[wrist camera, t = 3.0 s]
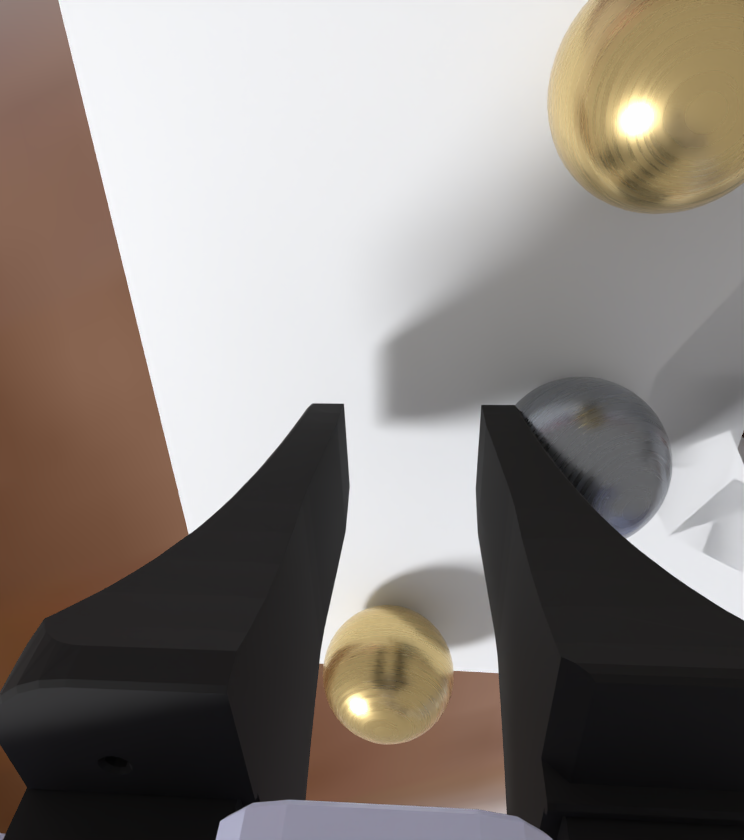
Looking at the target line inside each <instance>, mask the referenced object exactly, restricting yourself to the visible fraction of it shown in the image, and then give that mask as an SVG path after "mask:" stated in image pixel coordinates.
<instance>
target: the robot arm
mask: <svg viewBox="0 0 744 840" xmlns="http://www.w3.org/2000/svg"><path fill="white" fill-rule="evenodd" d="M349 489H350V482H349V468H348V454H347V439H346V425H345V411H344V404H333V403H312V404H311V405H310V406H309V407H308V408H307V409H306V410H305V412H304V413H303V415H302V416H301V417H300V419H299V420H298V421H297V423H296V424H295V426H294V427H293V428H292V430H291V431H290V432H289V433H288V435H287V436H286V437H285V439H284V440H283V441H282V442H281V444H280V445H279V446H278V447H277V448H276V450H275V451H274V452H273V453H272V454H271V456H270V457H269V458H268V459H267V460H266V462H265V463H264V464H263V465H262V466H261V467H260V468H259V470H258V471H257V472H256V473H255V474H254V475H253V476H252V477H251V478H250V479H249V480H248V481H247V482H246V483H245V484H244V485H243V486H242V487H241V489H240V490H239V491H238V492H237V493H236V494H235V495H234V496H233V497H232V498H231V499H230V500H229V501H228V502H226V503H225V504H224V505H223V506H222V507H221V508H220V509H219V510H218V511H217V512H216V513H215V514H213V515H212V516H211V517H210V518H209V519H208V520H206V521H205V522H204V523H203V524H202V525H201V526H199V527H198V528H197V529H196V530H194V531H193V532H192V533H190V534H189V535H188V536H186V537H185V538H183V539H182V540H181V541H179V542H178V543H176V544H175V545H174V546H172V547H171V548H170V549H168V550H167V551H165V552H164V553H163V554H161V555H160V556H158V557H157V558H155V559H154V560H152V561H151V562H149V563H148V564H146V565H144V566H143V567H141V568H140V569H138V570H136V571H135V572H133V573H131V574H130V575H128V576H126V577H125V578H123V579H121V580H119V581H118V582H116V583H114V584H113V585H111V586H109V587H107V588H105V589H104V590H102V591H100V592H98V593H96V594H94V595H92V596H90V597H88V598H86V599H84V600H82V601H80V602H78V603H76V604H74V605H72V606H70V607H68V608H66V609H64V610H62V611H60V612H58V613H56V614H54V615H52V616H49V617H47V618H45V619H44V620H43V622H42V623H41V625H40V626H39V628H38V629H37V631H36V632H35V633H34V635H33V636H32V638H31V639H30V641H29V642H28V644H27V645H26V647H25V649H24V651H23V652H22V654H21V656H20V657H19V659H18V661H17V663H16V665H15V666H14V668H13V670H12V672H11V674H10V675H9V677H8V679H7V681H6V683H5V684H4V686H3V688H2V690H1V691H0V745H1V746H2V748H3V750H4V751H5V753H6V754H7V756H8V757H9V759H10V761H11V762H12V764H13V765H14V767H15V769H16V770H17V772H18V773H19V775H20V777H21V778H22V780H23V781H24V783H25V784H26V786H27V789H26V792H25V794H24V796H23V798H22V800H21V802H20V804H19V806H18V809H17V811H16V813H15V815H14V817H13V819H12V821H11V824H10V826H9V828H8V830H7V832H6V834H1V833H0V840H744V620H742V619H741V618H739V617H737V616H735V615H733V614H732V613H730V612H728V611H726V610H725V609H723V608H721V607H720V606H718V605H717V604H715V603H713V602H712V601H710V600H709V599H707V598H706V597H704V596H703V595H701V594H699V593H698V592H696V591H695V590H693V589H692V588H690V587H689V586H687V585H686V584H684V583H683V582H681V581H680V580H679V579H677V578H676V577H674V576H673V575H671V574H670V573H669V572H667V571H666V570H665V569H663V568H662V567H661V566H659V565H658V564H657V563H656V562H654V561H653V560H652V559H650V558H649V557H648V556H646V555H645V554H644V553H643V552H641V551H640V550H639V549H638V548H636V547H635V546H634V545H633V544H632V543H630V542H629V541H628V540H627V539H626V538H624V537H623V536H622V535H621V534H620V533H619V532H618V531H617V530H616V529H615V528H614V527H612V526H611V525H610V524H609V523H608V522H607V521H606V520H605V519H604V518H603V517H602V516H601V515H600V514H599V513H598V512H597V511H596V510H595V509H594V508H593V507H592V506H591V504H590V503H589V502H588V501H587V500H586V499H585V498H584V497H583V496H582V494H581V493H580V492H579V491H578V490H577V489H576V488H575V487H574V485H573V484H572V483H571V482H570V481H569V479H568V478H567V477H566V476H565V475H564V473H563V472H562V471H561V469H560V468H559V467H558V466H557V464H556V463H555V462H554V461H553V459H552V458H551V457H550V455H549V454H548V453H547V451H546V450H545V449H544V447H543V446H542V444H541V443H540V441H539V440H538V439H537V437H536V436H535V434H534V433H533V431H532V430H531V428H530V427H529V425H528V423H527V422H526V420H525V419H524V417H523V415H522V414H521V412H520V410H519V409H518V408H517V407H516V406H515V405H481V416H480V431H479V446H478V460H477V475H476V509H477V529H478V539H479V545H480V551H481V557H482V563H483V569H484V575H485V580H486V586H487V592H488V598H489V604H490V610H491V615H492V621H493V627H494V633H495V640H496V648H497V656H498V671H499V685H500V700H501V716H502V733H503V749H504V767H505V786H506V805H507V815H506V814H501V813H495V812H490V811H485V810H479V809H461V808H442V807H423V806H403V805H384V804H365V803H345V802H326V801H306V800H305V799H306V788H307V777H308V767H309V756H310V745H311V736H312V726H313V716H314V707H315V697H316V688H317V679H318V670H319V662H320V653H321V646H322V641H323V635H324V629H325V624H326V620H327V615H328V611H329V606H330V602H331V597H332V592H333V588H334V583H335V579H336V574H337V570H338V565H339V560H340V556H341V551H342V546H343V542H344V537H345V532H346V523H347V512H348V501H349Z"/></svg>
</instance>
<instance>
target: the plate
mask: <svg viewBox="0 0 744 840" xmlns="http://www.w3.org/2000/svg"><path fill="white" fill-rule="evenodd" d="M58 1H59V5H60V9H61V13H62V17H63V21H64V25H65V29H66V33H67V37H68V41H69V46H70V50H71V54H72V58H73V62H74V66H75V70H76V74H77V78H78V82H79V87H80V91H81V95H82V99H83V103H84V107H85V111H86V115H87V119H88V123H89V127H90V132H91V136H92V140H93V144H94V148H95V152H96V156H97V160H98V164H99V168H100V173H101V177H102V181H103V185H104V189H105V193H106V197H107V201H108V205H109V209H110V213H111V218H112V222H113V226H114V230H115V234H116V238H117V242H118V246H119V250H120V254H121V259H122V263H123V267H124V271H125V275H126V279H127V283H128V287H129V291H130V295H131V299H132V304H133V308H134V312H135V316H136V320H137V324H138V328H139V332H140V336H141V340H142V345H143V349H144V353H145V357H146V361H147V365H148V369H149V373H150V377H151V381H152V385H153V390H154V394H155V398H156V402H157V406H158V410H159V414H160V418H161V422H162V426H163V431H164V435H165V439H166V443H167V447H168V451H169V455H170V459H171V463H172V467H173V471H174V476H175V480H176V484H177V488H178V492H179V496H180V500H181V504H182V508H183V512H184V517H185V521H186V525H187V529H188V533H189V534H190V533H192V532H193V531H194V530H196V529H197V528H198V527H199V526H201V525H202V524H203V523H204V522H205V521H206V520H208V519H209V518H210V517H211V516H212V515H213V514H215V513H216V512H217V511H218V510H219V509H220V508H221V507H222V506H223V505H224V504H225V503H226V502H228V501H229V500H230V499H231V498H232V497H233V496H234V495H235V494H236V493H237V492H238V491H239V490H240V489H241V487H242V486H243V485H244V484H245V483H246V482H247V481H248V480H249V479H250V478H251V477H252V476H253V475H254V474H255V473H256V472H257V471H258V470H259V468H260V467H261V466H262V465H263V464H264V463H265V462H266V460H267V459H268V458H269V457H270V456H271V454H272V453H273V452H274V451H275V450H276V448H277V447H278V446H279V445H280V444H281V442H282V441H283V440H284V439H285V437H286V436H287V435H288V433H289V432H290V431H291V430H292V428H293V427H294V426H295V424H296V423H297V421H298V420H299V419H300V417H301V416H302V415H303V413H304V412H305V410H306V409H307V408H308V407H309V406H310V405H311V404H312V403H333V404H344V411H345V425H346V439H347V454H348V468H349V482H350V489H349V501H348V512H347V523H346V532H345V537H344V542H343V546H342V551H341V556H340V560H339V565H338V570H337V574H336V579H335V583H334V588H333V592H332V597H331V602H330V606H329V611H328V615H327V620H326V624H325V629H324V635H323V641H322V646H321V653H320V662H319V663H323V664H324V659H325V655H326V651H327V649H328V646H329V644H330V642H331V640H332V638H333V636H334V635H335V633H336V632H337V630H338V629H339V628H340V627H341V626H342V625H343V624H344V623H345V622H346V621H347V620H348V619H349V618H351V617H352V616H353V615H355V614H357V613H358V612H360V611H363V610H365V609H367V608H371V607H375V606H382V605H394V606H401V607H405V608H408V609H411V610H413V611H415V612H417V613H419V614H421V615H422V616H424V617H425V618H426V619H428V620H429V621H430V622H431V623H432V624H433V625H434V626H435V627H436V628H437V629H438V630H439V632H440V633H441V635H442V636H443V638H444V640H445V642H446V644H447V646H448V648H449V651H450V654H451V658H452V662H453V671H471V672H489V673H499V671H498V656H497V648H496V640H495V633H494V627H493V621H492V615H491V610H490V604H489V598H488V592H487V586H486V580H485V575H484V569H483V563H482V557H481V551H480V545H479V539H478V529H477V509H476V475H477V460H478V446H479V431H480V416H481V405H515V404H516V403H517V402H518V401H519V400H521V399H522V398H523V397H524V396H525V395H526V394H528V393H529V392H531V391H532V390H534V389H536V388H537V387H539V386H541V385H543V384H546V383H548V382H551V381H554V380H558V379H562V378H568V377H594V378H600V379H604V380H608V381H611V382H614V383H617V384H619V385H621V386H623V387H625V388H627V389H628V390H630V391H632V392H634V393H635V394H636V395H637V396H639V397H640V398H641V399H642V400H644V401H645V402H646V403H647V404H648V405H649V406H650V407H651V409H652V410H653V411H654V412H655V414H656V415H657V416H658V418H659V420H660V421H661V423H662V425H663V427H664V429H665V431H666V433H667V436H668V439H669V442H670V446H671V452H672V477H671V482H670V486H669V489H668V492H667V495H666V497H665V500H664V502H663V504H662V505H661V507H660V508H659V510H658V511H657V513H656V514H655V515H654V517H653V518H652V519H651V520H650V521H649V522H648V523H647V524H646V525H645V526H644V527H643V528H642V529H640V530H639V531H638V532H636V533H635V534H634V535H632V536H630V537H628V538H627V540H628V541H629V542H630V543H632V544H633V545H634V546H635V547H636V548H638V549H639V550H640V551H641V552H643V553H644V554H645V555H646V556H648V557H649V558H650V559H652V560H653V561H654V562H656V563H657V564H658V565H659V566H661V567H662V568H663V569H665V570H666V571H667V572H669V573H670V574H671V575H673V576H674V577H676V578H677V579H679V580H680V581H681V582H683V583H684V584H686V585H687V586H689V587H690V588H692V589H693V590H695V591H696V592H698V593H699V594H701V595H703V596H704V597H706V598H707V599H709V600H710V601H712V602H713V603H715V604H717V605H718V606H720V607H721V608H723V609H725V610H726V611H728V612H730V613H732V614H733V615H735V616H737V617H739V618H741V619H742V620H744V438H742V434H743V431H744V183H743V184H742V185H740V186H739V187H738V188H736V189H735V190H733V191H732V192H730V193H728V194H726V195H725V196H723V197H721V198H719V199H717V200H715V201H713V202H710V203H708V204H706V205H703V206H700V207H697V208H694V209H690V210H687V211H681V212H676V213H664V214H645V213H636V212H631V211H626V210H623V209H621V208H618V207H615V206H612V205H610V204H607V203H606V202H604V201H602V200H600V199H598V198H596V197H595V196H593V195H592V194H591V193H589V192H588V191H586V190H585V189H584V188H583V187H582V186H581V185H580V184H579V183H578V182H577V181H576V180H575V179H574V178H573V177H572V175H571V174H570V173H569V171H568V170H567V169H566V167H565V166H564V164H563V162H562V160H561V159H560V157H559V155H558V153H557V150H556V148H555V145H554V142H553V139H552V136H551V131H550V126H549V122H548V111H547V96H548V85H549V79H550V73H551V70H552V66H553V63H554V59H555V56H556V53H557V51H558V48H559V46H560V44H561V41H562V39H563V37H564V35H565V34H566V32H567V30H568V28H569V26H570V24H571V23H572V21H573V20H574V18H575V17H576V16H577V14H578V13H579V11H580V10H581V8H582V7H583V6H584V5H585V4H586V3H587V1H588V0H58Z"/></svg>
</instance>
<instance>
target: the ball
mask: <svg viewBox="0 0 744 840" xmlns="http://www.w3.org/2000/svg"><path fill="white" fill-rule="evenodd" d="M515 406H516V407H517V408H518V409H519V410H520V412H521V414H522V415H523V417H524V419H525V420H526V422H527V423H528V425H529V427H530V428H531V430H532V431H533V433H534V434H535V436H536V437H537V439H538V440H539V441H540V443H541V444H542V446H543V447H544V449H545V450H546V451H547V453H548V454H549V455H550V457H551V458H552V459H553V461H554V462H555V463H556V464H557V466H558V467H559V468H560V469H561V471H562V472H563V473H564V475H565V476H566V477H567V478H568V479H569V481H570V482H571V483H572V484H573V485H574V487H575V488H576V489H577V490H578V491H579V492H580V493H581V494H582V496H583V497H584V498H585V499H586V500H587V501H588V502H589V503H590V504H591V506H592V507H593V508H594V509H595V510H596V511H597V512H598V513H599V514H600V515H601V516H602V517H603V518H604V519H605V520H606V521H607V522H608V523H609V524H610V525H611V526H612V527H614V528H615V529H616V530H617V531H618V532H619V533H620V534H621V535H622V536H623V537H624V538H626V539H627V538H628V537H630V536H632V535H634V534H635V533H636V532H638V531H639V530H640V529H642V528H643V527H644V526H645V525H646V524H647V523H648V522H649V521H650V520H651V519H652V518H653V517H654V515H655V514H656V513H657V511H658V510H659V508H660V507H661V505H662V504H663V502H664V500H665V497H666V495H667V492H668V489H669V486H670V482H671V477H672V452H671V446H670V442H669V439H668V436H667V433H666V431H665V429H664V427H663V425H662V423H661V421H660V420H659V418H658V416H657V415H656V414H655V412H654V411H653V410H652V409H651V407H650V406H649V405H648V404H647V403H646V402H645V401H644V400H642V399H641V398H640V397H639V396H637V395H636V394H635V393H634V392H632V391H630V390H628V389H627V388H625V387H623V386H621V385H619V384H617V383H614V382H611V381H608V380H604V379H600V378H594V377H568V378H562V379H558V380H554V381H551V382H548V383H546V384H543V385H541V386H539V387H537V388H536V389H534V390H532V391H531V392H529V393H528V394H526V395H525V396H524V397H523V398H522V399H521V400H519V401H518V402H517V403H516V404H515Z"/></svg>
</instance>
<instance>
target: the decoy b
mask: <svg viewBox="0 0 744 840" xmlns="http://www.w3.org/2000/svg"><path fill="white" fill-rule="evenodd" d="M547 111H548V122H549V126H550V131H551V136H552V139H553V142H554V145H555V148H556V150H557V153H558V155H559V157H560V159H561V160H562V162H563V164H564V166H565V167H566V169H567V170H568V171H569V173H570V174H571V175H572V177H573V178H574V179H575V180H576V181H577V182H578V183H579V184H580V185H581V186H582V187H583V188H584V189H585V190H586V191H588V192H589V193H591V194H592V195H593V196H595V197H596V198H598V199H600V200H602V201H604V202H606V203H607V204H610V205H612V206H615V207H618V208H621V209H623V210H626V211H631V212H636V213H645V214H664V213H676V212H681V211H687V210H690V209H694V208H697V207H700V206H703V205H706V204H708V203H710V202H713V201H715V200H717V199H719V198H721V197H723V196H725V195H726V194H728V193H730V192H732V191H733V190H735V189H736V188H738V187H739V186H740V185H742V184H743V183H744V0H588V1H587V3H586V4H585V5H584V6H583V7H582V8H581V10H580V11H579V13H578V14H577V16H576V17H575V18H574V20H573V21H572V23H571V24H570V26H569V28H568V30H567V32H566V34H565V35H564V37H563V39H562V41H561V44H560V46H559V48H558V51H557V53H556V56H555V59H554V63H553V66H552V70H551V73H550V79H549V85H548V96H547Z"/></svg>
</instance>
